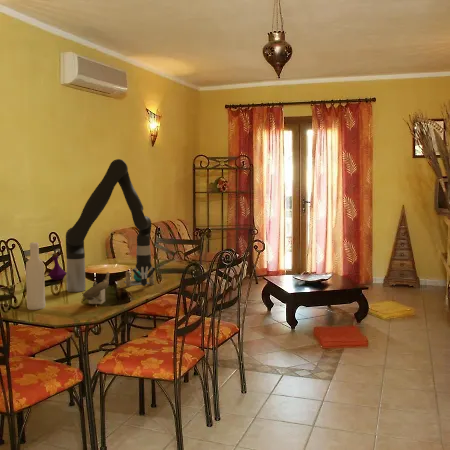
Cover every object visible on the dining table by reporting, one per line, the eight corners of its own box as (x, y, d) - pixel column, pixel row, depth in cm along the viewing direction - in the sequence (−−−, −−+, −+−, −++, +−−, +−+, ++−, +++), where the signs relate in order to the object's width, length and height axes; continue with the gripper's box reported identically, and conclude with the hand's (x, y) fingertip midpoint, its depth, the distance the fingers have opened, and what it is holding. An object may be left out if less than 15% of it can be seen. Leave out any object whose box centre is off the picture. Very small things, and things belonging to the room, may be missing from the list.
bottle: (47, 305, 243) (45, 241, 240) (42, 309, 235) (40, 243, 232) (30, 305, 243) (28, 241, 240) (24, 310, 235) (22, 243, 232)
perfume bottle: (47, 279, 302) (47, 249, 301) (57, 277, 309) (56, 247, 307) (57, 281, 299) (56, 250, 297) (67, 278, 305) (66, 248, 304)
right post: (150, 285, 289) (149, 270, 288) (148, 284, 291) (148, 270, 290) (154, 284, 290) (154, 270, 289) (153, 283, 292) (153, 269, 291)
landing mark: (128, 285, 287) (128, 285, 287) (123, 281, 298) (123, 281, 298) (150, 284, 292) (150, 283, 292) (144, 280, 303) (144, 279, 303)
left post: (126, 287, 284) (126, 272, 283) (125, 286, 286) (125, 271, 285) (131, 286, 285) (131, 272, 284) (130, 285, 287) (130, 271, 286)
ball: (135, 279, 293) (134, 269, 296) (132, 283, 298) (131, 273, 301) (145, 279, 296) (145, 269, 298) (142, 283, 300) (142, 273, 303)
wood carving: (117, 293, 269) (117, 271, 268) (95, 310, 234) (95, 286, 233) (100, 292, 270) (100, 271, 268) (76, 310, 235) (75, 285, 234)
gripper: (153, 252, 285) (153, 283, 287) (129, 253, 280) (130, 285, 281) (157, 253, 278) (157, 285, 280) (133, 255, 273) (133, 288, 274)
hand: (143, 285), depth 280 cm, fingers closed
